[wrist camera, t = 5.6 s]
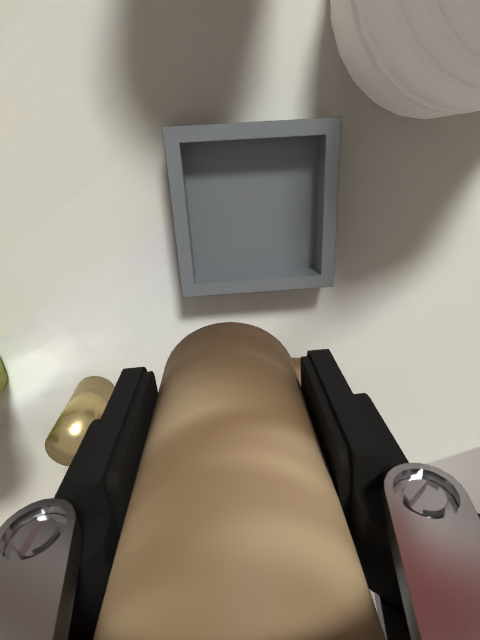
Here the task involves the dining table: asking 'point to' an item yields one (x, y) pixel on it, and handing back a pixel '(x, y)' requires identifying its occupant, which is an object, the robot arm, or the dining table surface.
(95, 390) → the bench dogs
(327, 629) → the dowel
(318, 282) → the tray
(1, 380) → the plant pot
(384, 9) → the honey pot
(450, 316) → the dining table surface
